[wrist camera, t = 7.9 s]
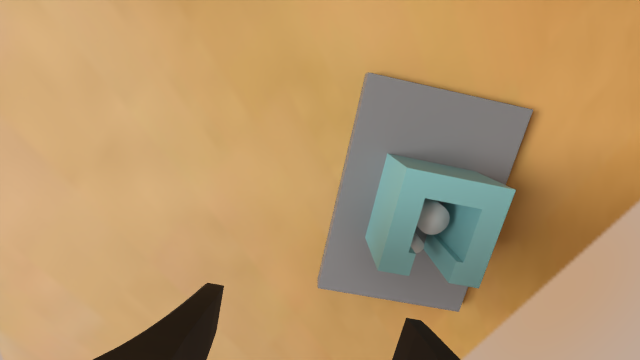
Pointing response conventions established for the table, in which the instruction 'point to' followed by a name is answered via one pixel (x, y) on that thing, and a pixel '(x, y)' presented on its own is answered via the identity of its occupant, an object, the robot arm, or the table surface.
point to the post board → (423, 144)
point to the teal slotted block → (462, 230)
